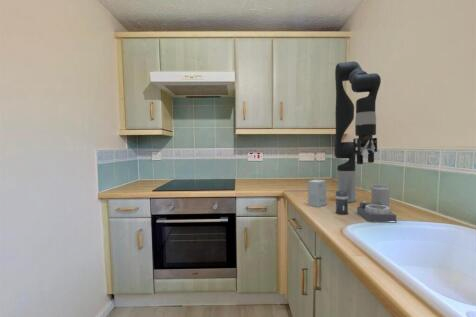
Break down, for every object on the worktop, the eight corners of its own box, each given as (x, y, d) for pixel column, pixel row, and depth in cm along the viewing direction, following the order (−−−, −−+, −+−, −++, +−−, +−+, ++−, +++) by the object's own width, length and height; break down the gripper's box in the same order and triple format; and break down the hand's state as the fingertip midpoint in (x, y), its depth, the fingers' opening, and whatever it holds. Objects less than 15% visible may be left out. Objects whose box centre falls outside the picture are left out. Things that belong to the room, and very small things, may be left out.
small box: (315, 202, 132) (315, 179, 132) (326, 204, 128) (326, 180, 127) (307, 205, 127) (307, 181, 126) (319, 207, 122) (318, 182, 122)
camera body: (357, 212, 110) (357, 200, 110) (380, 213, 109) (380, 200, 109) (369, 221, 96) (369, 207, 96) (396, 222, 95) (396, 208, 95)
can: (383, 207, 119) (383, 183, 119) (393, 211, 112) (393, 185, 111) (368, 207, 119) (368, 183, 119) (377, 211, 112) (377, 186, 111)
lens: (334, 211, 113) (334, 190, 113) (346, 211, 112) (345, 190, 112) (337, 214, 108) (337, 192, 108) (349, 214, 107) (349, 192, 107)
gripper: (365, 125, 105) (365, 161, 106) (346, 124, 97) (347, 164, 98) (383, 123, 99) (383, 162, 100) (365, 122, 91) (365, 165, 92)
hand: (365, 163), depth 99 cm, fingers open, 8 cm apart
